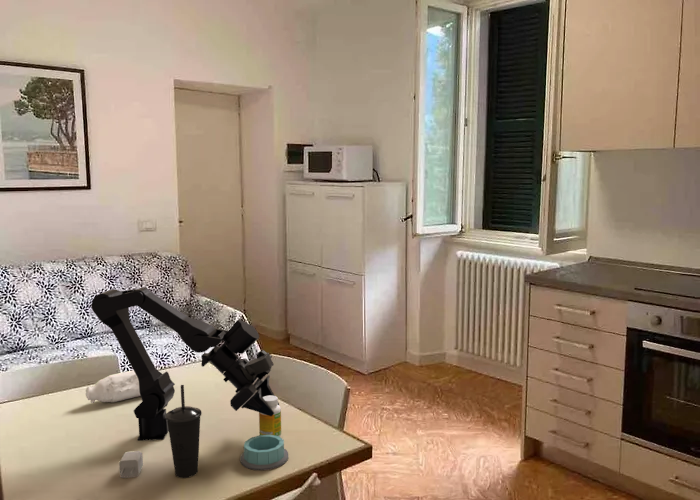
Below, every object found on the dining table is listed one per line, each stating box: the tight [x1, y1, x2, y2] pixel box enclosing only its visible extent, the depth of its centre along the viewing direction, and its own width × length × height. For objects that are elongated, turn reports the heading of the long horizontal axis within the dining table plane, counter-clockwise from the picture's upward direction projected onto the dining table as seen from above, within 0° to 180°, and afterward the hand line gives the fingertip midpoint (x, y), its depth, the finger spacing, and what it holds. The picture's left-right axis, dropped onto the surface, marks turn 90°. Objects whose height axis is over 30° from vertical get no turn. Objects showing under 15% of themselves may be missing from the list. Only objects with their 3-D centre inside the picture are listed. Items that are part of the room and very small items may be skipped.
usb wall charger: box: [118, 450, 144, 479], centre depth 133 cm, size 4×7×4 cm, turn 7°
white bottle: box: [85, 369, 141, 404], centre depth 179 cm, size 8×19×8 cm, turn 129°
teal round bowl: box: [239, 434, 289, 471], centre depth 140 cm, size 11×11×4 cm
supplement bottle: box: [258, 395, 282, 438], centre depth 150 cm, size 5×5×10 cm
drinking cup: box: [165, 384, 203, 479], centre depth 133 cm, size 8×8×20 cm
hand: (275, 410), depth 150 cm, fingers closed on supplement bottle, 5 cm apart
